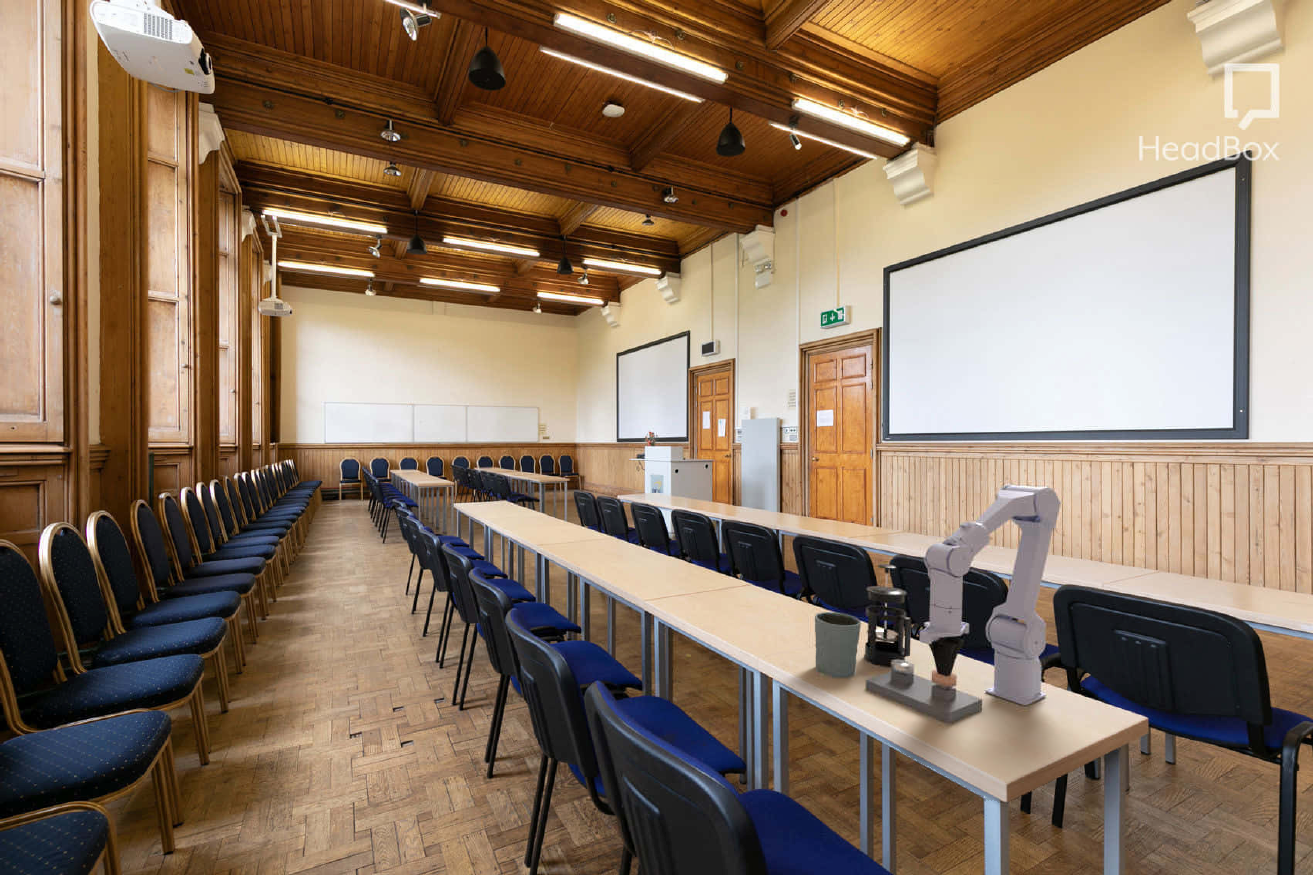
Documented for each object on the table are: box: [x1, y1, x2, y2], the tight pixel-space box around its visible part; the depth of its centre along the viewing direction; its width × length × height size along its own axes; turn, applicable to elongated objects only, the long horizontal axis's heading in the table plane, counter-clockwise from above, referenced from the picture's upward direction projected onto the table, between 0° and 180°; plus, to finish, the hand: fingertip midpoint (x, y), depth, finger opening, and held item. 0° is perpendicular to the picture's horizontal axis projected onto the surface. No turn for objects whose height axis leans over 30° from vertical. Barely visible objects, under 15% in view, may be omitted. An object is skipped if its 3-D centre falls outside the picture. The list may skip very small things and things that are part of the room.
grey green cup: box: [814, 611, 862, 679], centre depth 134 cm, size 10×10×12 cm
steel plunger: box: [890, 659, 915, 675], centre depth 124 cm, size 4×4×6 cm
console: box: [865, 670, 983, 725], centre depth 120 cm, size 12×18×4 cm, turn 35°
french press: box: [863, 563, 912, 668], centre depth 142 cm, size 12×9×23 cm
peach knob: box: [931, 669, 957, 690], centre depth 117 cm, size 4×4×6 cm
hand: (943, 674), depth 117 cm, fingers closed, pressing on peach knob
